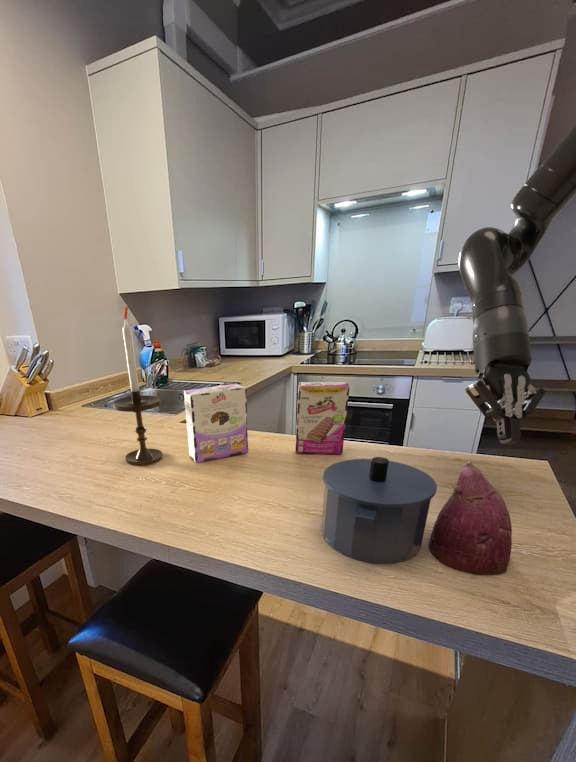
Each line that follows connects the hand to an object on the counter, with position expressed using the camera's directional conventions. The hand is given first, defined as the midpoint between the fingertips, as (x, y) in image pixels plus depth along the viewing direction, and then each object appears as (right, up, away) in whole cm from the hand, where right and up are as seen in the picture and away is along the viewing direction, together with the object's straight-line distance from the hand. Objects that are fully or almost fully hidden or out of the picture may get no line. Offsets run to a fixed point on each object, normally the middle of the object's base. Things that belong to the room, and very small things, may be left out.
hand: (510, 442), depth 62 cm
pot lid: (-23, -6, -4) cm, 24 cm away
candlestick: (-64, -1, +35) cm, 73 cm away
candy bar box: (-21, +1, +34) cm, 40 cm away
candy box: (-46, 0, +35) cm, 58 cm away
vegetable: (-10, -17, -5) cm, 20 cm away
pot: (-22, -15, 0) cm, 27 cm away
